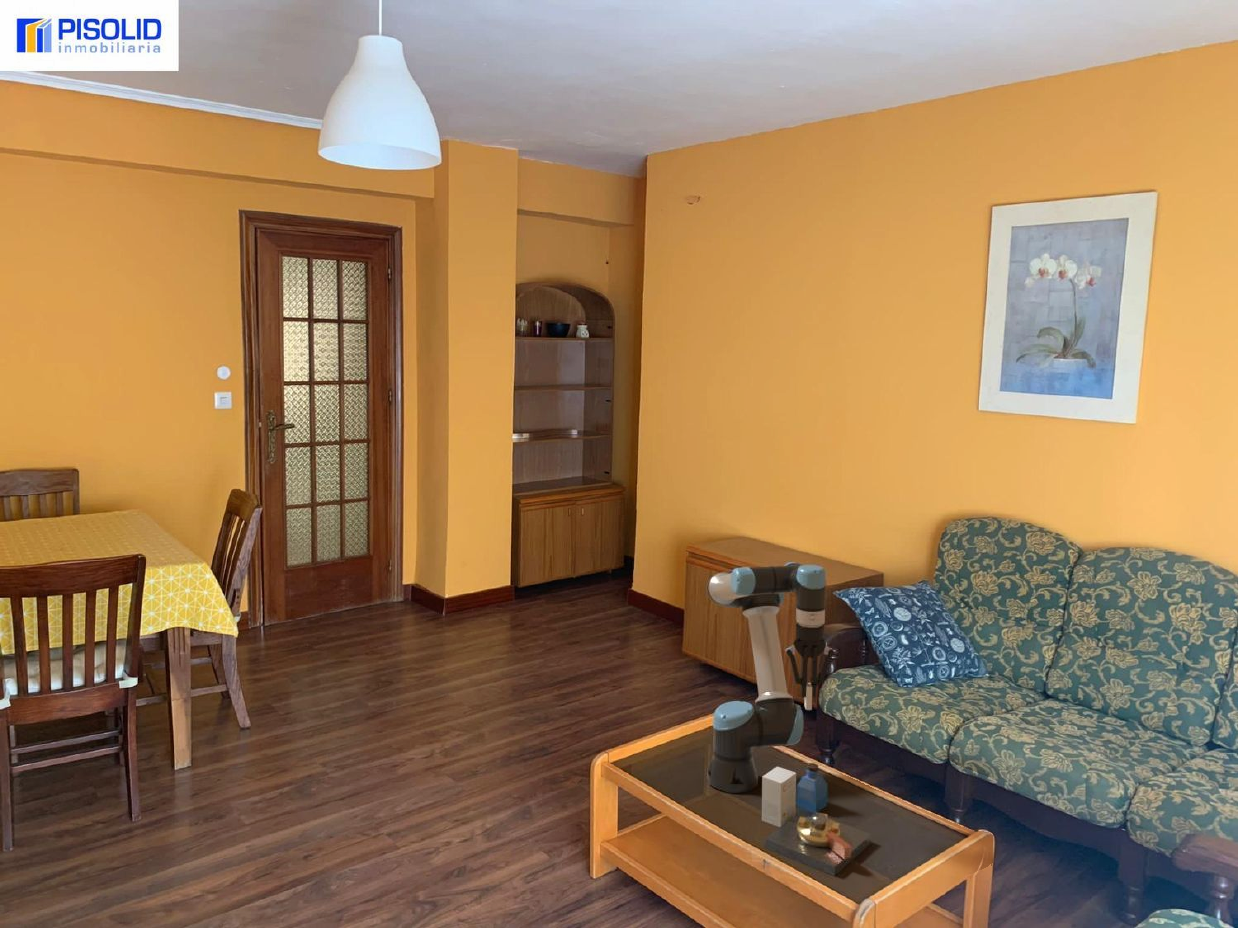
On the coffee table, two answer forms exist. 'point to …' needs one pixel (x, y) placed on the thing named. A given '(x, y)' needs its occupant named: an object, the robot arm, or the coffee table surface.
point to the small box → (778, 796)
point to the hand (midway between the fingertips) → (808, 707)
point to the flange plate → (814, 856)
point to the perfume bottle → (812, 790)
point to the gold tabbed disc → (823, 836)
